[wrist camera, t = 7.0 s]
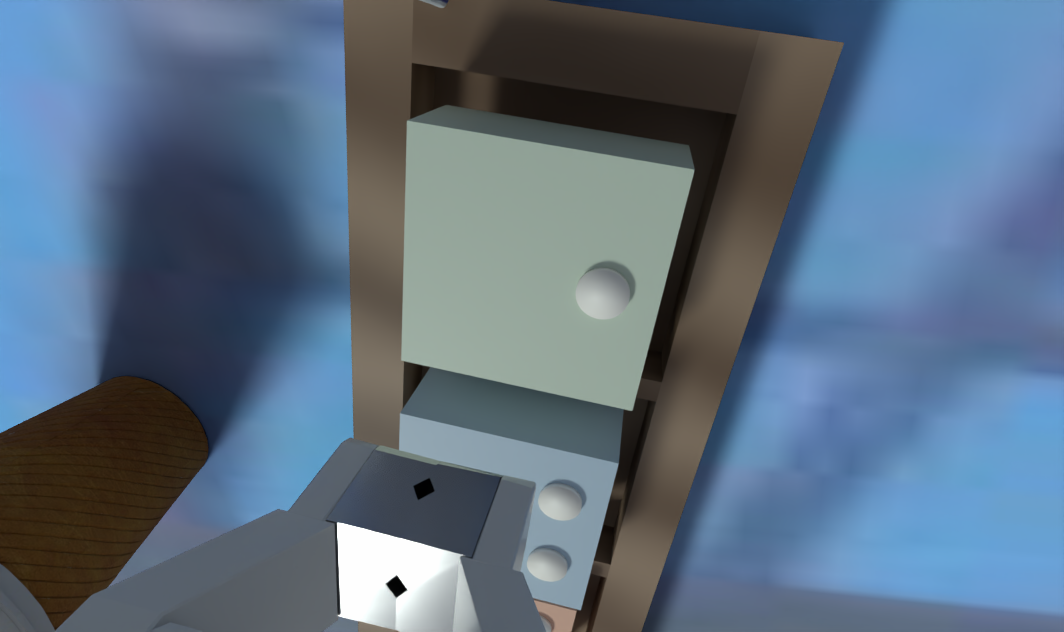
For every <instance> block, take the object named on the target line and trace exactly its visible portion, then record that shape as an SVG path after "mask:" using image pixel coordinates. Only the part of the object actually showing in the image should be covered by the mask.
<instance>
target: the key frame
mask: <svg viewBox="0 0 1064 632" xmlns="http://www.w3.org/2000/svg"><path fill="white" fill-rule="evenodd" d="M344 43H345V86H346V128H347V171H348V213H349V256H350V299H351V341H352V384H353V426H354V439H357V440H360V441H364V442H368V443H371V444H375V445H379V446H381V445H382V446H386V447H389V448H393V449H397V450H399V433H400V413H401V411H402V410H403V408H404V406H405V405H406V403H407V402H408V400H409V399H410V397H411V396H412V394H413V393H414V391H415V390H416V388H417V387H418V385H419V384H420V382H421V381H422V379H423V378H424V376H425V375H426V373H427V372H428V370H429V368H430V367H429V366H424V365H420V364H415V363H410V362H406V361H401V349H402V308H403V266H404V224H405V182H406V140H407V120H410V119H412V118H415V117H417V116H420V115H422V114H425V113H427V112H430V111H432V110H434V109H437V108H439V107H442V106H444V105H450V106H456V107H462V108H468V109H474V110H480V111H486V112H492V113H498V114H504V115H510V116H516V117H522V118H528V119H534V120H540V121H546V122H552V123H558V124H564V125H570V126H576V127H582V128H588V129H594V130H600V131H606V132H612V133H618V134H624V135H630V136H636V137H642V138H648V139H654V140H660V141H666V142H672V143H678V144H685V145H689V148H690V152H691V156H692V160H693V164H694V169H695V171H694V175H693V178H692V182H691V186H690V190H689V194H688V198H687V202H686V205H685V209H684V213H683V217H682V221H681V225H680V229H679V232H678V236H677V240H676V244H675V248H674V252H673V256H672V260H671V263H670V267H669V271H668V275H667V279H666V283H665V287H664V290H663V294H662V298H661V302H660V306H659V310H658V314H657V318H656V321H655V325H654V329H653V333H652V337H651V341H650V345H649V348H648V352H647V356H646V360H645V364H644V368H643V372H642V376H641V379H640V383H639V387H638V391H637V395H636V399H635V403H634V406H633V410H632V411H630V410H625V409H624V411H623V422H622V433H621V444H620V455H619V464H618V468H617V472H616V476H615V480H614V484H613V488H612V491H611V495H610V499H609V503H608V507H607V511H606V515H605V519H604V522H603V526H602V530H601V534H600V538H599V542H598V546H597V549H596V553H595V557H594V561H593V565H592V569H591V573H590V577H589V580H588V584H587V588H586V592H585V596H584V600H583V604H582V607H581V610H578V609H577V612H576V616H575V619H574V623H573V627H572V631H571V632H641V631H642V628H643V625H644V622H645V619H646V616H647V613H648V611H649V608H650V605H651V602H652V599H653V596H654V593H655V590H656V587H657V584H658V582H659V579H660V576H661V573H662V570H663V567H664V564H665V561H666V558H667V555H668V552H669V550H670V547H671V544H672V541H673V538H674V535H675V532H676V529H677V526H678V523H679V521H680V518H681V515H682V512H683V509H684V506H685V503H686V500H687V497H688V494H689V492H690V489H691V486H692V483H693V480H694V477H695V474H696V471H697V468H698V465H699V463H700V460H701V457H702V454H703V451H704V448H705V445H706V442H707V439H708V436H709V433H710V431H711V428H712V425H713V422H714V419H715V416H716V413H717V410H718V407H719V404H720V402H721V399H722V396H723V393H724V390H725V387H726V384H727V381H728V378H729V375H730V373H731V370H732V367H733V364H734V361H735V358H736V355H737V352H738V349H739V346H740V344H741V341H742V338H743V335H744V332H745V329H746V326H747V323H748V320H749V317H750V314H751V312H752V309H753V306H754V303H755V300H756V297H757V294H758V291H759V288H760V285H761V283H762V280H763V277H764V274H765V271H766V268H767V265H768V262H769V259H770V256H771V254H772V251H773V248H774V245H775V242H776V239H777V236H778V233H779V230H780V227H781V225H782V222H783V219H784V216H785V213H786V210H787V207H788V204H789V201H790V198H791V195H792V193H793V190H794V187H795V184H796V181H797V178H798V175H799V172H800V169H801V166H802V164H803V161H804V158H805V155H806V152H807V149H808V146H809V143H810V140H811V137H812V135H813V132H814V129H815V126H816V123H817V120H818V117H819V114H820V111H821V108H822V106H823V103H824V100H825V97H826V94H827V91H828V88H829V85H830V82H831V79H832V76H833V74H834V71H835V68H836V65H837V62H838V59H839V56H840V53H841V50H842V47H843V45H844V43H843V42H836V41H829V40H822V39H815V38H808V37H801V36H794V35H787V34H780V33H773V32H766V31H759V30H752V29H745V28H738V27H731V26H724V25H717V24H710V23H703V22H696V21H689V20H682V19H675V18H668V17H661V16H654V15H647V14H640V13H633V12H626V11H619V10H612V9H605V8H598V7H591V6H584V5H577V4H570V3H563V2H556V1H549V0H448V2H447V4H446V6H445V7H444V8H439V7H437V6H434V5H432V4H429V3H426V2H423V1H421V0H344ZM358 632H400V631H397V630H393V629H389V628H385V627H381V626H377V625H373V624H369V623H365V622H361V621H358Z"/></svg>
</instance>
